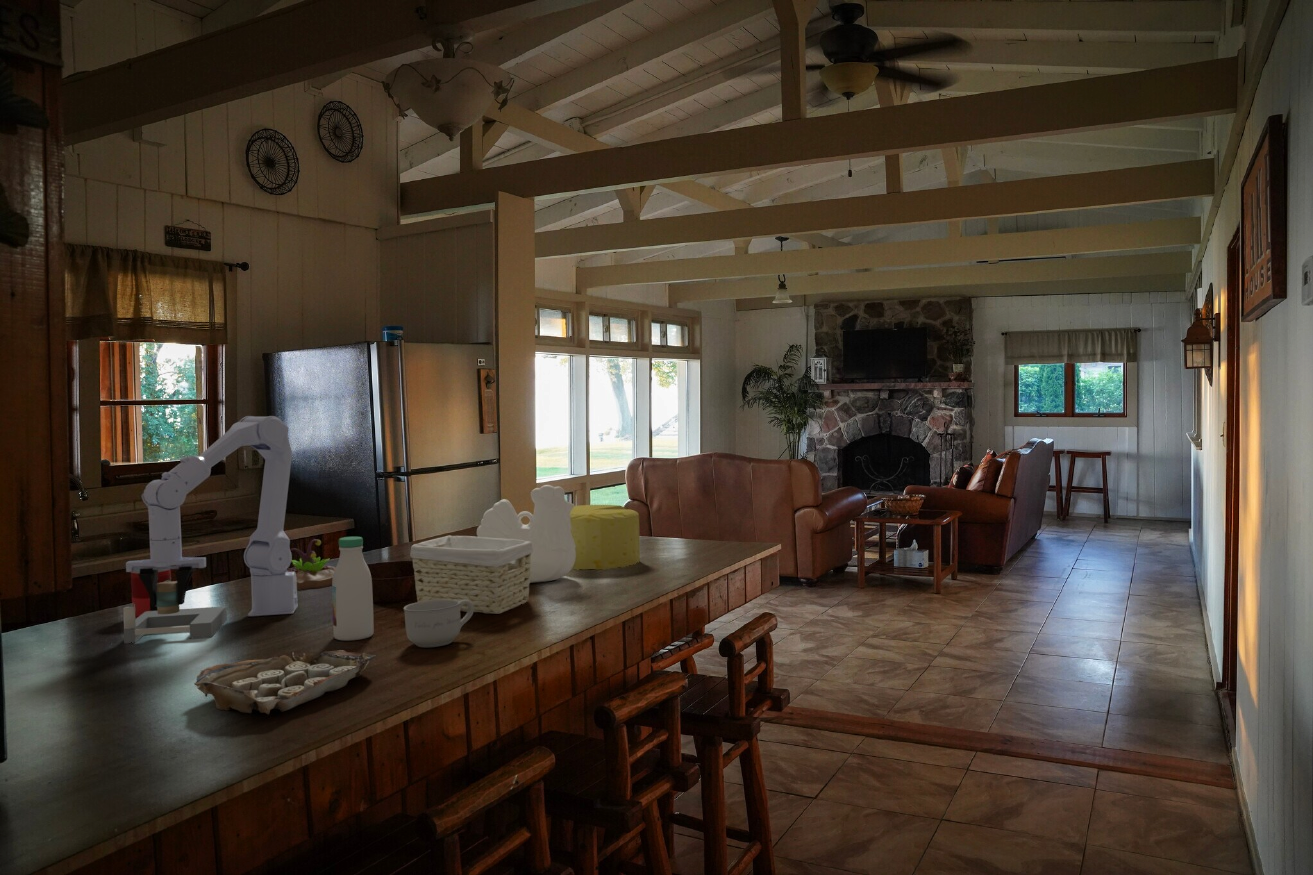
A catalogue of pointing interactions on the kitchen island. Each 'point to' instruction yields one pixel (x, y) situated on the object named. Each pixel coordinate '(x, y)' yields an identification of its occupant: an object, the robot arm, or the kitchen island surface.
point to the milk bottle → (352, 593)
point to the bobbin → (167, 597)
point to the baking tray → (279, 680)
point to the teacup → (435, 621)
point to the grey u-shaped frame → (173, 622)
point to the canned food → (145, 591)
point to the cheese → (605, 536)
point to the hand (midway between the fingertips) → (168, 604)
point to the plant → (312, 569)
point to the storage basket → (473, 571)
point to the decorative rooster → (537, 531)
